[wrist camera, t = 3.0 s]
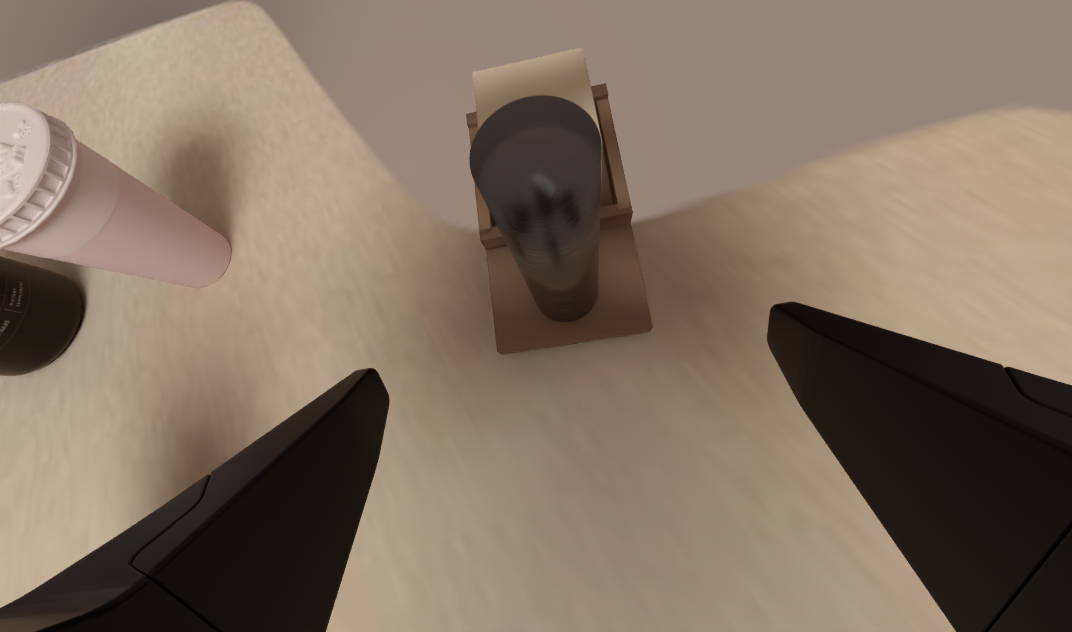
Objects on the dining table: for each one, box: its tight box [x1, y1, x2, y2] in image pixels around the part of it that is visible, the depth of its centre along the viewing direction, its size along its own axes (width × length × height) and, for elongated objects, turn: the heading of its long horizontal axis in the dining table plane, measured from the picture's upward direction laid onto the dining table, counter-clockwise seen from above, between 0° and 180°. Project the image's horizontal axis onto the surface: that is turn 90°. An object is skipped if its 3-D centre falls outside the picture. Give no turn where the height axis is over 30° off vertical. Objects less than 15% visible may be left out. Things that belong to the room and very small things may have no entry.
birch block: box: [472, 47, 602, 206], centre depth 20 cm, size 5×5×5 cm
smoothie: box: [0, 102, 231, 288], centre depth 19 cm, size 6×6×14 cm
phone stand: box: [466, 84, 652, 355], centre depth 16 cm, size 13×8×12 cm, turn 8°
